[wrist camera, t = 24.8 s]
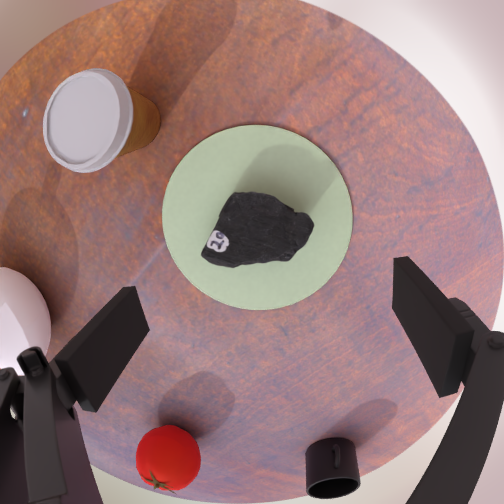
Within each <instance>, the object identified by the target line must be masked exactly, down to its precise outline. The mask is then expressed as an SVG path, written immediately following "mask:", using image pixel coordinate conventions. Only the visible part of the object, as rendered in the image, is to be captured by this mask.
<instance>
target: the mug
mask: <svg viewBox="0 0 504 504" xmlns="http://www.w3.org/2000/svg"><path fill="white" fill-rule="evenodd" d="M359 486H360V476H359V469H358V463H357V457H356V451H355V446H354V444H353V443H352V442H351V441H349V440H347V439H342V438H330V439H325V440H321V441H319V442H316V443H314V444H313V445H311V446H310V447H309V448H308V449H307V451H306V492H307V494H308V495H309V496H311V497H315V498H319V499H332V498H338V497H342V496H346V495H348V494H350V493H352V492H354V491H355V490H357V489H358V488H359Z"/></svg>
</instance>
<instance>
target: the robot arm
mask: <svg viewBox="0 0 504 504" xmlns="http://www.w3.org/2000/svg"><path fill="white" fill-rule="evenodd" d="M392 309H393V311H394V312H395V314H396V316H397V318H398V319H399V321H400V323H401V325H402V327H403V328H404V330H405V332H406V334H407V336H408V337H409V339H410V341H411V343H412V345H413V347H414V349H415V350H416V352H417V354H418V356H419V358H420V360H421V362H422V364H423V366H424V368H425V370H426V372H427V374H428V376H429V378H430V380H431V382H432V384H433V386H434V388H435V390H436V392H437V394H438V396H439V398H440V397H444V396H448V395H451V394H454V393H457V392H458V389H459V386H460V383H461V381H462V383H463V384H464V386H465V387H464V390H463V393H462V395H461V398H460V400H459V403H458V405H457V408H456V410H455V413H454V415H453V417H452V419H451V422H450V424H449V426H448V428H447V430H446V433H445V435H444V437H443V439H442V441H441V443H440V445H439V447H438V449H437V451H436V453H435V455H434V457H433V459H432V460H431V462H430V464H429V466H428V468H427V469H426V471H425V473H424V475H423V476H422V478H421V480H420V482H419V483H418V485H417V486H416V488H415V490H414V491H413V493H412V495H411V496H410V498H409V499H408V501H407V502H406V504H468V502H469V500H470V498H471V496H472V493H473V491H474V489H475V486H476V484H477V481H478V479H479V477H480V474H481V472H482V469H483V467H484V464H485V461H486V458H487V456H488V453H489V450H490V447H491V443H492V441H493V437H494V434H495V431H496V428H497V424H498V420H499V417H500V413H501V409H502V405H503V401H504V333H502V332H499V331H490V330H489V329H488V328H487V326H486V325H485V324H484V323H483V322H482V321H481V320H480V319H479V317H478V316H477V315H475V313H474V312H473V311H472V310H471V309H470V308H469V307H468V306H467V304H466V303H465V302H463V301H461V300H459V299H457V298H450V299H448V298H447V297H446V296H445V295H444V294H443V293H442V292H441V291H440V290H439V289H438V287H437V286H436V285H435V284H434V283H433V282H432V281H431V280H430V279H429V278H428V277H427V276H426V275H425V273H424V272H423V271H422V270H421V269H420V268H419V267H418V266H417V265H416V264H415V263H414V262H413V261H412V260H411V259H410V258H409V257H408V256H406V257H399V258H394V269H393V301H392ZM148 332H149V327H148V324H147V321H146V318H145V315H144V312H143V309H142V306H141V303H140V300H139V297H138V294H137V290H136V287H135V286H131V287H123V288H122V289H121V290H120V291H119V292H118V293H117V294H116V295H115V296H114V297H113V298H112V299H111V300H110V301H109V302H108V303H107V304H106V305H105V306H104V307H103V308H102V309H101V310H100V311H99V312H98V313H97V314H96V315H95V316H94V317H93V318H92V319H91V320H90V321H89V322H88V323H87V324H86V325H85V326H84V328H83V329H82V330H81V331H80V332H79V333H78V334H77V335H76V336H74V337H73V338H72V339H71V340H70V341H69V342H68V344H66V345H65V347H64V348H63V349H62V350H61V351H60V352H59V353H58V354H57V355H56V356H55V357H54V358H53V359H52V361H51V362H50V363H48V361H47V359H46V357H45V355H44V353H43V351H42V349H41V348H40V347H38V346H34V347H30V348H28V349H26V350H24V351H23V352H21V353H20V354H19V355H18V356H17V359H16V360H17V362H18V364H19V366H20V367H21V369H22V371H23V373H24V374H25V376H18V375H17V373H16V371H15V369H14V368H12V367H7V368H3V369H2V370H0V504H103V501H102V498H101V496H100V493H99V490H98V487H97V484H96V481H95V478H94V475H93V472H92V469H91V466H90V462H89V459H88V455H87V452H86V448H85V444H84V441H83V437H82V433H81V428H80V424H79V420H78V415H77V411H76V409H75V408H74V406H73V405H74V403H75V402H76V400H77V401H78V403H79V405H80V406H81V408H82V409H83V410H85V411H90V412H97V411H98V409H99V408H100V406H101V404H102V403H103V401H104V400H105V398H106V396H107V395H108V393H109V392H110V390H111V389H112V387H113V385H114V384H115V382H116V381H117V379H118V378H119V376H120V375H121V373H122V371H123V370H124V368H125V367H126V365H127V364H128V362H129V361H130V359H131V358H132V356H133V355H134V353H135V352H136V350H137V349H138V347H139V345H140V344H141V342H142V341H143V339H144V338H145V336H146V335H147V333H148ZM10 408H11V409H12V411H13V412H14V413H15V415H16V416H15V419H14V418H13V417H12V415H11V412H10Z"/></svg>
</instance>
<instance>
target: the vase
mask: <svg viewBox="0 0 504 504" xmlns="http://www.w3.org/2000/svg"><path fill="white" fill-rule="evenodd" d="M50 340H51V320H50V314H49V311H48V308H47V305H46V302H45V300H44V298H43V296H42V294H41V293H40V291H39V290H38V288H37V287H36V286H35V285H34V284H33V283H32V282H31V281H30V280H29V279H28V278H27V277H26V276H24V275H23V274H22V273H19V272H17V271H14V270H12V269H9V268H7V267H0V368H1V369H3V368H7V367H12V368H14V369H15V371H16V373H17V375H25V374H24V373H23V371H22V369H21V367H20V366H19V364H18V362H17V360H16V359H17V356H18V355H19V354H20V353H21V352H23V351H24V350H26V349H28V348H30V347H34V346H38V347H40V348H41V349H42V351H43V353H44V355H45V356H46V353H47V350H48V346H49V343H50Z"/></svg>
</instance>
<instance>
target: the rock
mask: <svg viewBox="0 0 504 504" xmlns="http://www.w3.org/2000/svg"><path fill="white" fill-rule="evenodd" d="M313 228H314V222H313V221H312V219H311V218H310V216H309V215H308V214H307V213H304V212H294V209H293V208H291V207H289V206H288V205H286V204H284V203H282V202H281V201H279V200H278V199H277V198H276V197H275V196H272V195H269V194H265V193H257V192H253V191H251V192H247V193H246V192H240V193H239V192H234V193H233V194H232V195H231V196H230V197H229V198H228V199H227V201H226V203H225V204H224V206H223V208H222V210H221V212H220V214H219V219H218V221H217V223H216V225H215V227H214V229H213V231H212V233H211V235H210V237H209V239H208V241H207V242H206V244H205V246H204V248H203V250H202V252H201V256H202V257H203V258H204V259H205V260H207V261H208V262H209V263H211V264H214V265H217V266H224V267H230V268H235V267H238V266H240V265H251V264H255V263H262V264H263V263H267V262H271V261H281V262H287V261H289V260H291V259H292V257H293V256H294V255H295V254H296V252H297V251H298V250H300V249H301V248H303V247H304V246H305V244H306V243H307V241H308V239H309V237H310V235H311V233H312V231H313Z"/></svg>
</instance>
